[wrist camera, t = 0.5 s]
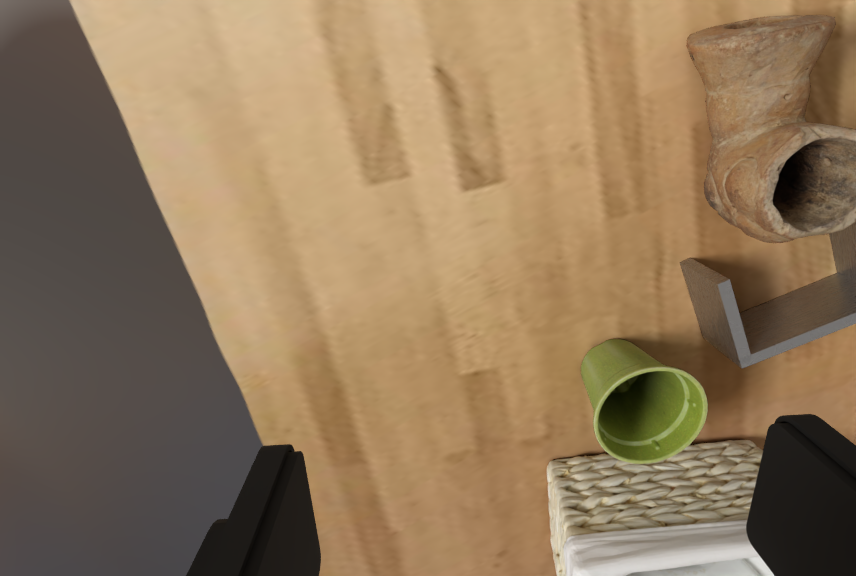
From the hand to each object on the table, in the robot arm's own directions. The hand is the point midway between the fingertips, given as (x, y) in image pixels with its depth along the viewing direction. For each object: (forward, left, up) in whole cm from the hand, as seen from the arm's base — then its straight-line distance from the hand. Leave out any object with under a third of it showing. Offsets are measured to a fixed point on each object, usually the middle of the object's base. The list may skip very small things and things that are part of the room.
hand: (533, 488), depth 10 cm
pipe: (+5, +24, -35) cm, 42 cm away
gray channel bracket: (+19, +24, -35) cm, 46 cm away
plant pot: (+22, +8, -35) cm, 42 cm away
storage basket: (+39, +6, -35) cm, 53 cm away
